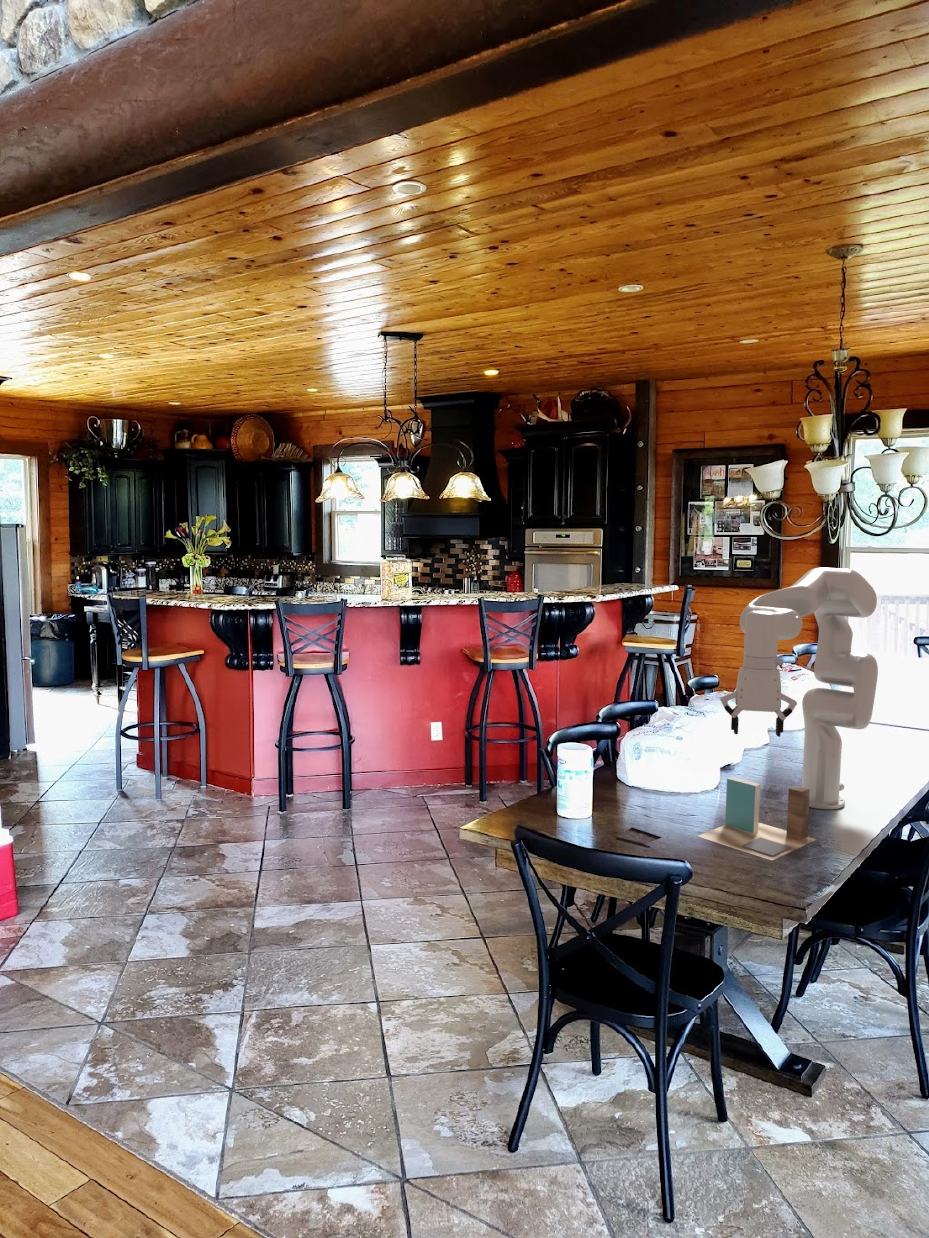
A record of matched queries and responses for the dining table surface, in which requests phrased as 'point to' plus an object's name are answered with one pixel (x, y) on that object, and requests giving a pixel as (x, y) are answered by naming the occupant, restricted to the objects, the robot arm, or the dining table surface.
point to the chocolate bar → (637, 836)
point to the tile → (742, 804)
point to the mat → (766, 847)
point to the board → (739, 837)
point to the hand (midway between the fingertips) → (756, 734)
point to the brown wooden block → (798, 812)
